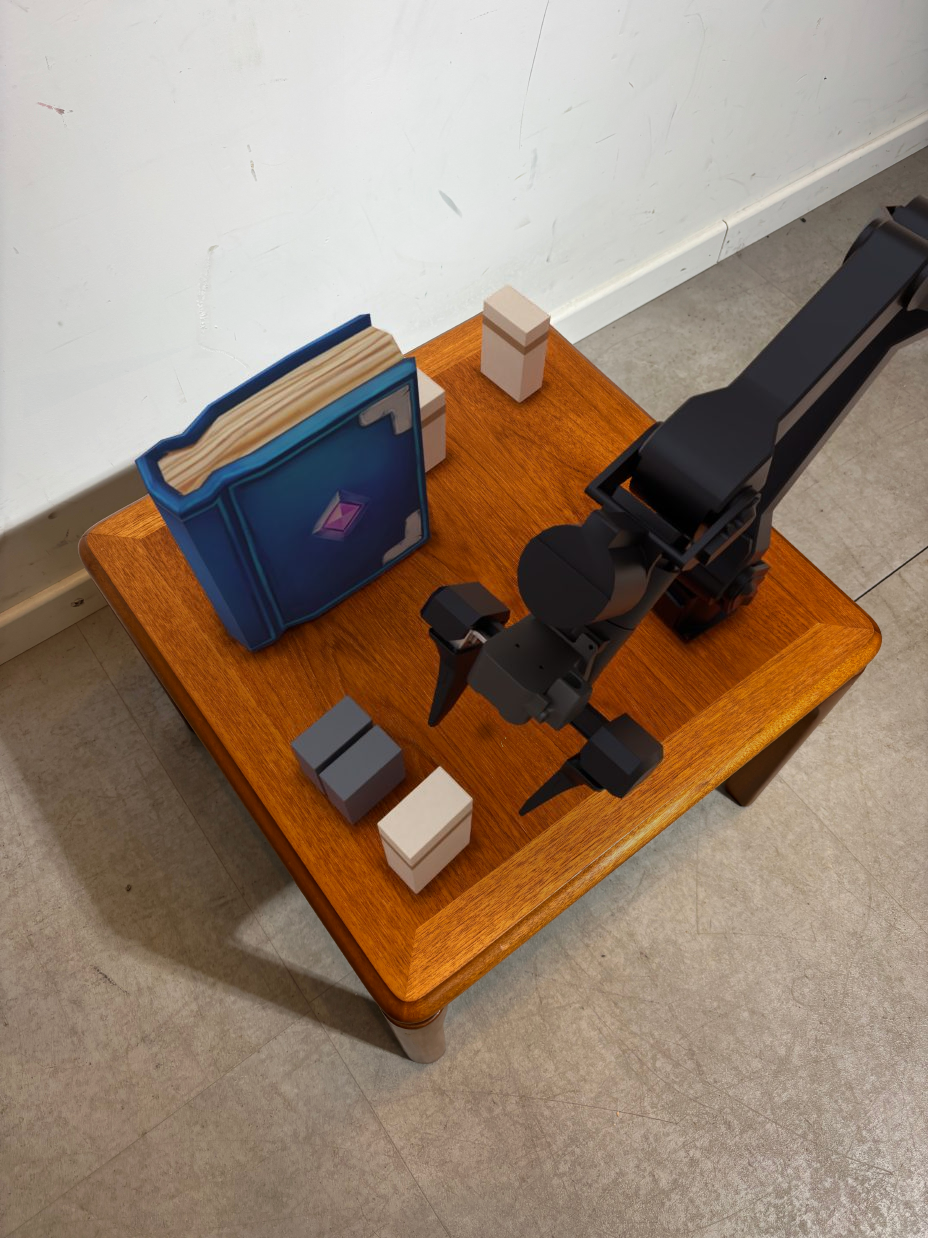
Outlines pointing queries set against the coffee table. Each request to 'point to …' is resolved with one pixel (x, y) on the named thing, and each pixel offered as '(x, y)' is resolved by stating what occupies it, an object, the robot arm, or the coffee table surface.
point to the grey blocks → (350, 759)
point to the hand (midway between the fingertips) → (476, 768)
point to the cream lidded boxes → (493, 362)
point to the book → (298, 482)
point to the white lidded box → (427, 829)
